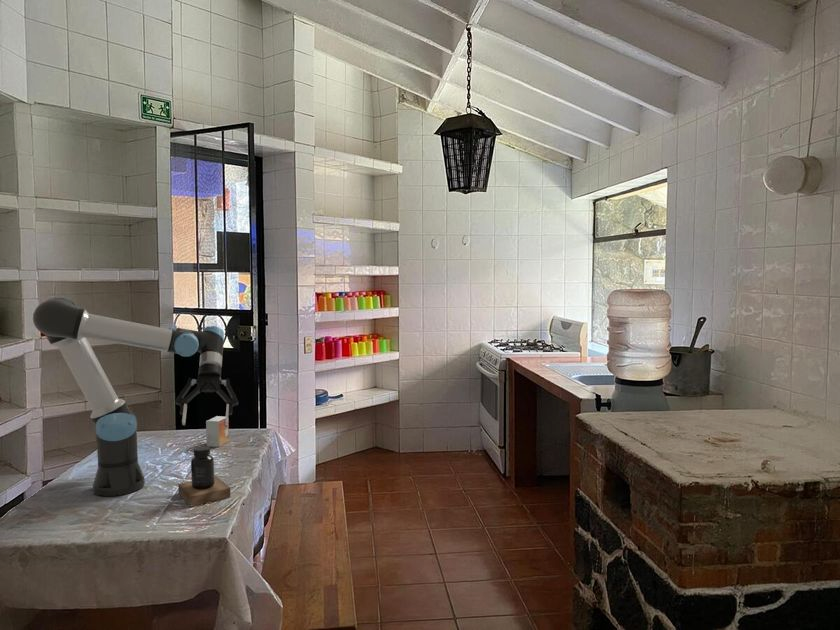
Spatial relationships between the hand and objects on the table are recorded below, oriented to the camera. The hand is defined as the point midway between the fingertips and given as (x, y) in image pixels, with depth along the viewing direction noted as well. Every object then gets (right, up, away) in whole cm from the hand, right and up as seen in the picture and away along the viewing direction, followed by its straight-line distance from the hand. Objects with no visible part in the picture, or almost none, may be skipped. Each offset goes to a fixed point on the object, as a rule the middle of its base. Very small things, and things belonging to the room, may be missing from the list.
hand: (205, 423), depth 202 cm
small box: (-10, -16, +43) cm, 47 cm away
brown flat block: (+4, -21, -11) cm, 24 cm away
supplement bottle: (+3, -18, -11) cm, 21 cm away
